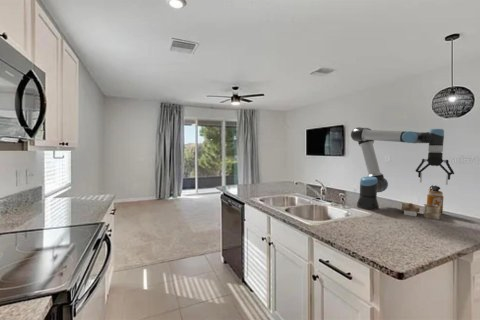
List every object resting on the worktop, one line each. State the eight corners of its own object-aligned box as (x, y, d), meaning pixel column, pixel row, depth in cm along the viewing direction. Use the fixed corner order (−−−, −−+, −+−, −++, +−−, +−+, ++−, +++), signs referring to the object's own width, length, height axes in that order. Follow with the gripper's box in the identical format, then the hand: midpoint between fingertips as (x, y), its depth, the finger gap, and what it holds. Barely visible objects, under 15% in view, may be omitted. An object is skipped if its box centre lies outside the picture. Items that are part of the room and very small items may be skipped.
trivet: (403, 214, 166) (404, 210, 166) (404, 210, 177) (404, 206, 177) (416, 216, 162) (416, 212, 162) (415, 212, 173) (416, 208, 173)
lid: (401, 210, 167) (401, 204, 167) (402, 206, 177) (402, 200, 177) (419, 212, 161) (419, 206, 161) (418, 208, 172) (419, 202, 171)
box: (424, 217, 160) (425, 207, 160) (423, 213, 169) (424, 204, 169) (440, 219, 156) (440, 209, 155) (438, 215, 165) (439, 205, 164)
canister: (429, 214, 168) (431, 186, 167) (422, 210, 179) (424, 183, 178) (445, 215, 166) (446, 187, 164) (437, 211, 176) (438, 184, 175)
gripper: (412, 151, 164) (410, 182, 166) (461, 152, 150) (458, 186, 151) (412, 151, 170) (410, 180, 172) (459, 152, 156) (456, 184, 157)
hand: (433, 183), depth 161 cm, fingers open, 13 cm apart
